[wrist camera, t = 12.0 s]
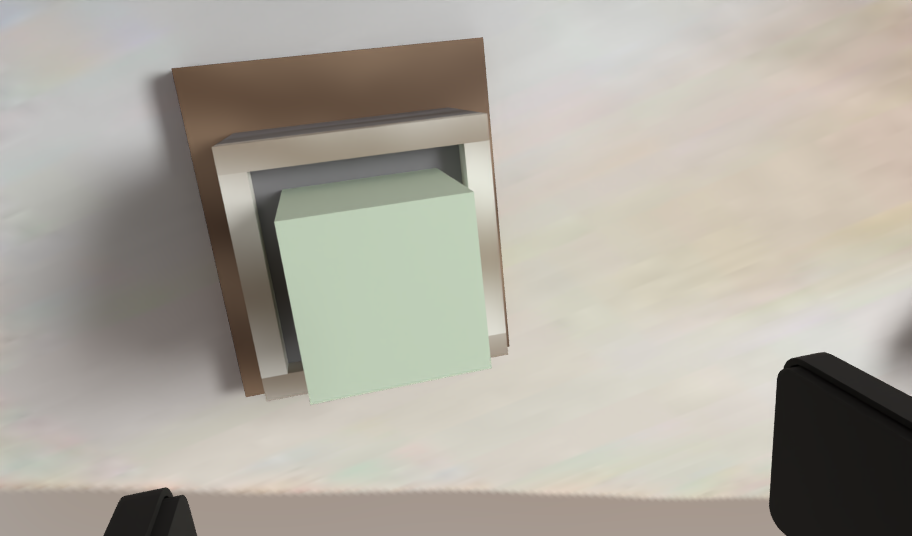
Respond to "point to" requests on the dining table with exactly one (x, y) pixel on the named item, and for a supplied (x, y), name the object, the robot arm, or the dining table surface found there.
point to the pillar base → (312, 102)
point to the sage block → (383, 281)
